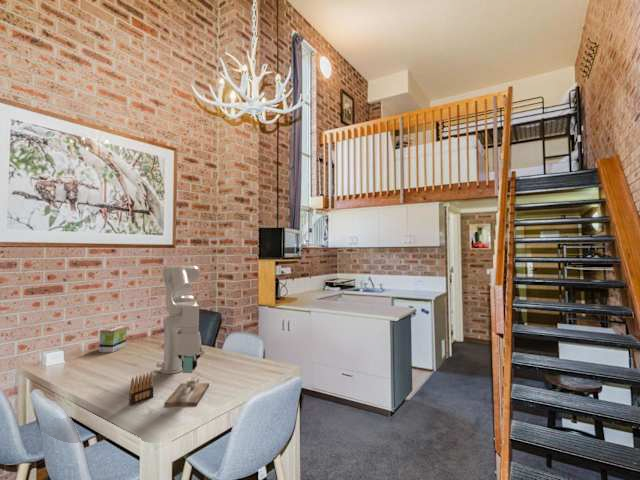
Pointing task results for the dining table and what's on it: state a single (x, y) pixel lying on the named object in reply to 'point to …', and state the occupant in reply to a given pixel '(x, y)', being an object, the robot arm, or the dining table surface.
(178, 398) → the rail board
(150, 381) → the ammunition clip
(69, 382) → the dining table surface
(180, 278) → the robot arm
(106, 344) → the tea box
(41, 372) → the dining table surface
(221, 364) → the dining table surface
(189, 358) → the teal module
